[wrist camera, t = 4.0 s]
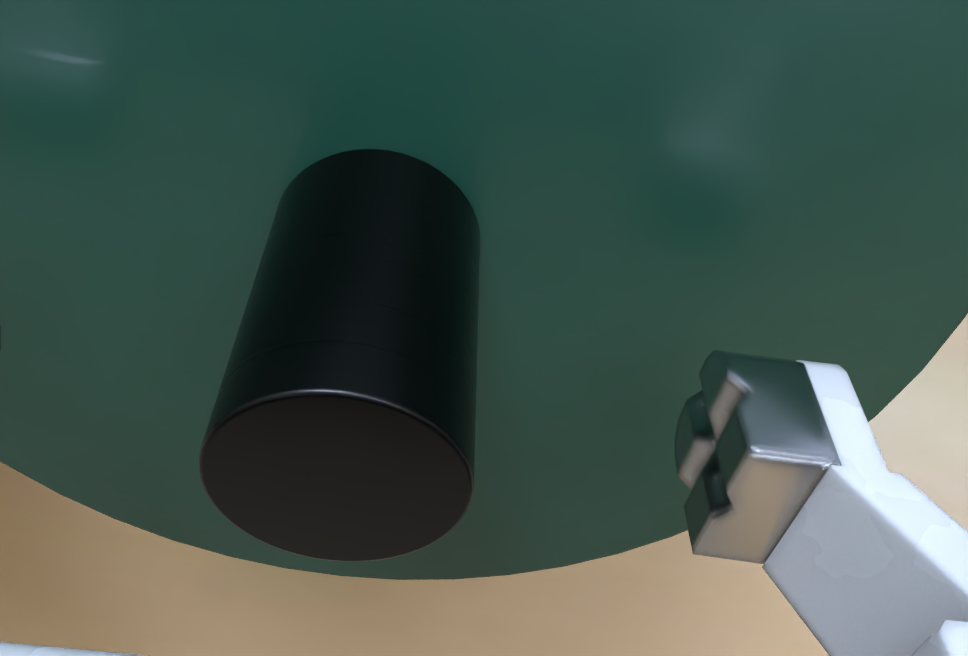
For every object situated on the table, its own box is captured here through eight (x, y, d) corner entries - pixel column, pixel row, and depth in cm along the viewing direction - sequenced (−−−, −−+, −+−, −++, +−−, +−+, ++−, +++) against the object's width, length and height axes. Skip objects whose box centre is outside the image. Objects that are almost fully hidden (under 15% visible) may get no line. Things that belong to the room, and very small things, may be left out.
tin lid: (-685, -982, 6) (-2741, -1851, 2) (1405, -459, 8) (2301, -438, 4) (-79, 478, 17) (-250, 763, 13) (739, 566, 18) (802, 841, 15)
